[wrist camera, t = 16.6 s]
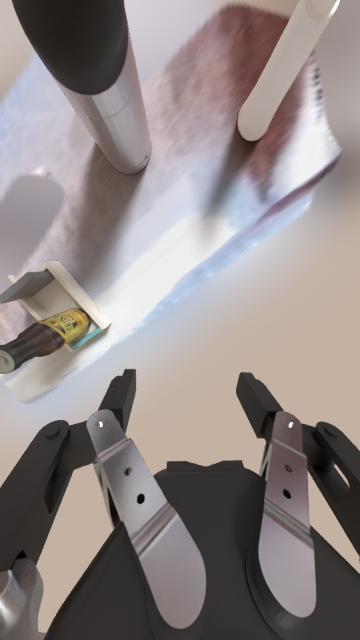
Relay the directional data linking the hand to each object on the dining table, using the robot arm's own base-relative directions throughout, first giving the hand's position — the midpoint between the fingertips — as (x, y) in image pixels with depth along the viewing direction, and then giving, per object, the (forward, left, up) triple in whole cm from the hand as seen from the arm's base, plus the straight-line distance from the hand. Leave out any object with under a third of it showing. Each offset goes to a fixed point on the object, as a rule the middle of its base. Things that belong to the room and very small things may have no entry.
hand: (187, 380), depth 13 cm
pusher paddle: (-21, -24, -30) cm, 44 cm away
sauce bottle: (-10, -23, -30) cm, 40 cm away
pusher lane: (-13, -24, -31) cm, 41 cm away
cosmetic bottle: (-20, +30, -31) cm, 48 cm away
